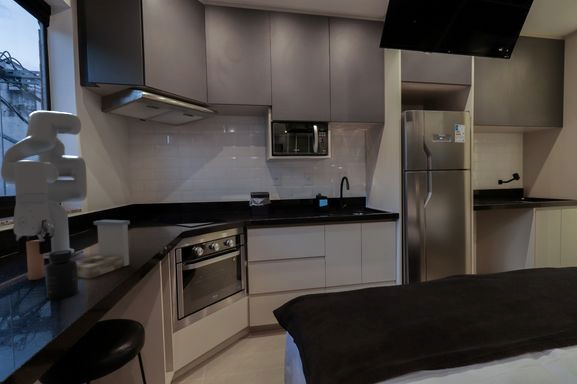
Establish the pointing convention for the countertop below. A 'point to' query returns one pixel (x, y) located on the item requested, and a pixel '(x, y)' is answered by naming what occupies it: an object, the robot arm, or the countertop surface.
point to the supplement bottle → (61, 275)
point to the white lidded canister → (113, 239)
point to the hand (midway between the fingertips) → (34, 252)
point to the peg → (35, 260)
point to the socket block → (97, 265)
